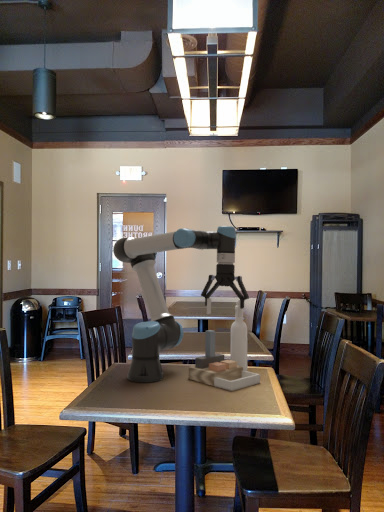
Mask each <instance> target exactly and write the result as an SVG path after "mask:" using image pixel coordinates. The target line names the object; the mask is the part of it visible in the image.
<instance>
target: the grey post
mask: <svg viewBox="0 0 384 512" xmlns="http://www.w3.org/2000/svg"><path fill="white" fill-rule="evenodd" d="M204 343H205V345H204V346H205V347H204V348H205V349H204V350H205V352H204V353H205V354H204V355H202V356H197V357H195V362H194V363H195V365H194V366H195V367H197V368H201V369H204V368H208V367H209V364H210V363H215V362H219V363H220V361H224V360H225V354H223V353H218V352H217V353H216V330H212V329H209V330H205V342H204Z"/></svg>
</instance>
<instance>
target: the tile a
mask: <svg viewBox="0 0 384 512" xmlns="http://www.w3.org/2000/svg"><path fill="white" fill-rule="evenodd" d="M209 370H212V371H216V372H220V371H224V370H226V364H224V363H219V362H215V363H210V364H209Z"/></svg>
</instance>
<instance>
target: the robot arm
mask: <svg viewBox="0 0 384 512" xmlns="http://www.w3.org/2000/svg"><path fill="white" fill-rule="evenodd" d="M236 238H237V236H236V228H235V227H234V226H232V225H231V226H229V225H220V226H218V227H217V230H216V231H204V230H199V229H192V228H191V229H190V228H187V227H186V228H184V227H183V228H178V229H177V230H175V231H170V232H165V233H159V234H153V235H148V236H141V237H136V238H135V237H134V236H133V237H132V236H130V237H129V236H128V237H121V238H119V239H118V240H116V242H115V243H114V245H113V248H112V251H113V254H114V255H113V256H114V257H115V258H116V259H117V260H118V261H119V262H121V263H127V264H130V266H131V269H132V271H134V272H136V274H137V275H136V276H137V277H138V278H137V279H138V281H139V284H140V287H141V290H142V294H143V297H144V300H145V303H146V306H147V310H148V313H149V316H150V320H148V321H141V322H138V323H136V324H135V325H133V327H132V333H131V340H132V341H131V342H132V343H131V346H132V347H131V362H130V365H129V368H128V372H127V379H128V380H129V381H131V382H135V383H155V382H159V381H162V380H163V379H164V370H163V367H162V364H161V361H160V351H163V350H168V349H173V348H174V347H177V346H179V345H180V344H181V342H182V340H183V338H184V327H183V325H182V324H181V323H180V322H178V321H176V320H175V316H174V315H173V314H171V313H170V312H169V309H168V306H167V303H166V299H165V297H164V294H163V291H162V287H161V285H160V282H159V281H160V280H159V279H158V275H157V272H156V269H155V264H156V259H157V254H158V253H162V252H168V251H175V250H176V251H177V250H184V249H197V250H216V263H217V264H216V266H215V267H216V268H215V274H209V275H208V278H207V279H208V280H207V281H206V284H205V285H204V287H203V290H202V292H201V294H200V296H201V297H204V305H205V306H206V315H211V314H212V298H211V297H212V295H213V294H214V293H215V291H217V289H219V287H220V286H221V287H230V288H231V289H232V291H233V292H234V294H235V295H236V296H237V298H238V299H239V300H238V301H237V305H238V317H241V316H242V309H243V310H244V309H245V301H246V300H249V299H250V296H249V294H248V291H247V289H246V288H245V287H246V286H245V285H244V283H243V276H242V275H238V276H235V263H236ZM215 280H216V281H215ZM213 281H215V283H214V284H213ZM235 281H236V282H237V284H238V286H239V288H238V287H237V286H236V284H235ZM212 284H213V286H212ZM211 286H212V287H211Z"/></svg>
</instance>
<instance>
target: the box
mask: <svg viewBox="0 0 384 512" xmlns="http://www.w3.org/2000/svg"><path fill="white" fill-rule="evenodd" d="M260 383H261V374H259V373H257V372H252V371H249V370H247V371H244V370H243V371H242V378H239V379H235V380H231V381H229V380H225V379H221V378H218V377H214V386H213V387H216V388H217V389H222V390H226V391H228V392H233V391H237V390H239V389H240V390H241V389H243V388H247V387H250V386H254V385H257V384H260Z"/></svg>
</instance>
